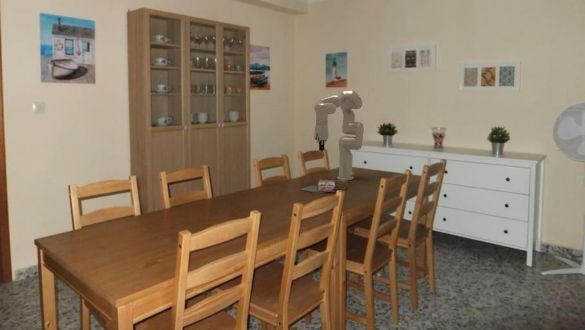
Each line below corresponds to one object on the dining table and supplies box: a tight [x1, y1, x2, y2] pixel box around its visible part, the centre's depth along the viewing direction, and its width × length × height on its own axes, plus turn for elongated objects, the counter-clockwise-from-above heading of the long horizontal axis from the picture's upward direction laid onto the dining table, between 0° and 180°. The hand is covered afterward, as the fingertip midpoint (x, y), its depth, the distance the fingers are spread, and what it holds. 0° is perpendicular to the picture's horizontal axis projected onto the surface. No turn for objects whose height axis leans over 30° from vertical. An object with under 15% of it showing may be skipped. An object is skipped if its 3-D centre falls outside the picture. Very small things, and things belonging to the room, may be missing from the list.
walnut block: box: [335, 179, 348, 191], centre depth 293 cm, size 6×6×6 cm
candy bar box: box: [317, 179, 336, 193], centre depth 288 cm, size 11×5×16 cm
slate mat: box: [299, 185, 327, 195], centre depth 290 cm, size 15×18×1 cm
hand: (321, 150), depth 290 cm, fingers closed
